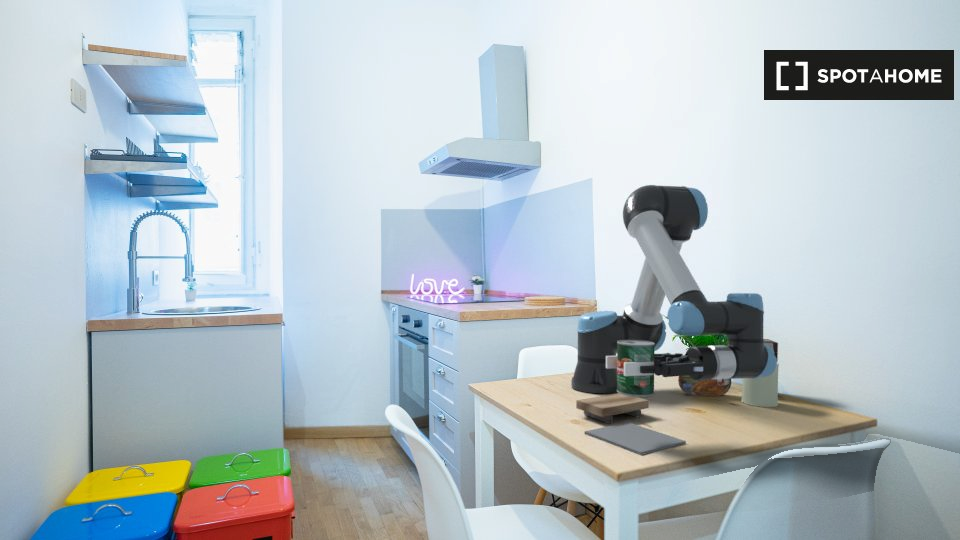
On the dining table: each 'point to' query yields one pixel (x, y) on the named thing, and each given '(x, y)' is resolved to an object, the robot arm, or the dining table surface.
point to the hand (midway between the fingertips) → (615, 365)
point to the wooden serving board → (612, 406)
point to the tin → (704, 386)
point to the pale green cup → (761, 390)
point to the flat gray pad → (635, 438)
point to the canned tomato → (634, 353)
